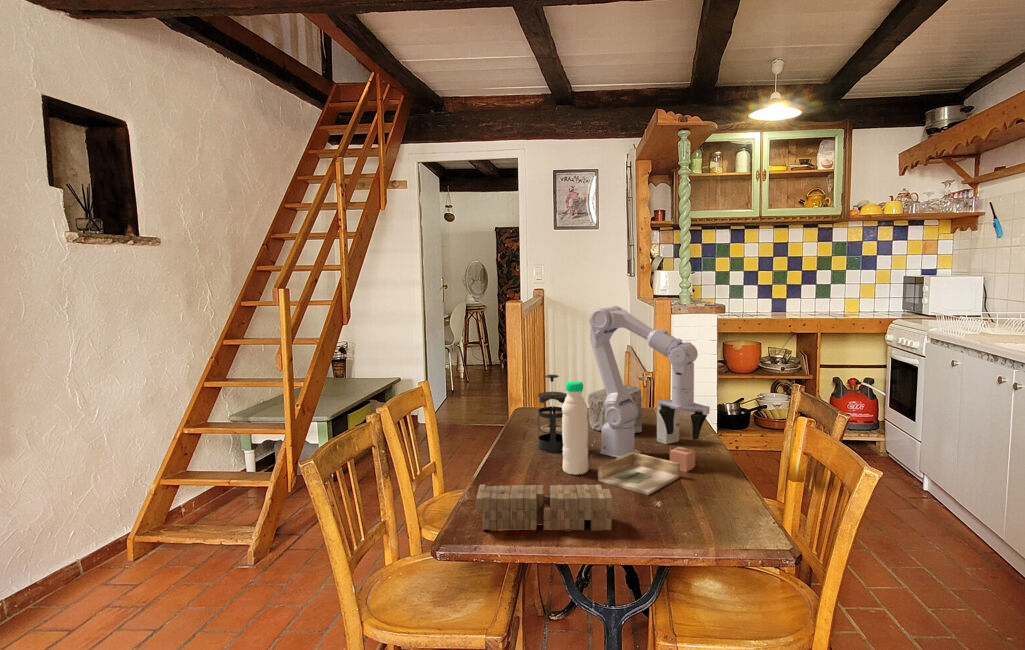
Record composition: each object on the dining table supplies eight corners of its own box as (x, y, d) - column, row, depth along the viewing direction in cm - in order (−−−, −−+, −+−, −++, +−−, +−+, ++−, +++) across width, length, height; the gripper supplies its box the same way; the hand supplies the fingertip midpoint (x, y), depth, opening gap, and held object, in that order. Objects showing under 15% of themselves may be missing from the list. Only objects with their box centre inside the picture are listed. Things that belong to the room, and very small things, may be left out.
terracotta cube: (669, 468, 166) (669, 450, 166) (678, 463, 170) (678, 446, 169) (686, 472, 163) (686, 454, 162) (695, 467, 166) (695, 449, 166)
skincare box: (666, 444, 186) (666, 406, 185) (655, 441, 190) (655, 403, 189) (680, 441, 190) (680, 403, 189) (669, 437, 194) (669, 401, 192)
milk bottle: (591, 468, 167) (590, 380, 164) (583, 477, 161) (582, 385, 158) (567, 465, 170) (566, 378, 167) (559, 473, 164) (557, 383, 161)
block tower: (607, 520, 137) (479, 517, 138) (608, 484, 136) (479, 481, 137) (611, 536, 129) (476, 532, 130) (612, 498, 128) (476, 495, 129)
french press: (568, 453, 180) (567, 378, 178) (537, 453, 181) (536, 378, 178) (567, 441, 192) (566, 370, 189) (538, 441, 193) (536, 371, 190)
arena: (598, 480, 158) (597, 466, 157) (631, 464, 169) (631, 451, 169) (648, 495, 148) (648, 480, 147) (679, 477, 159) (680, 463, 159)
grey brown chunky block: (581, 424, 212) (580, 382, 211) (625, 419, 217) (625, 378, 216) (605, 438, 194) (604, 393, 193) (652, 432, 200) (652, 388, 198)
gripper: (651, 386, 166) (651, 434, 167) (701, 393, 156) (700, 444, 157) (664, 382, 171) (664, 428, 172) (713, 389, 161) (712, 438, 162)
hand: (682, 436), depth 165 cm, fingers open, 7 cm apart
